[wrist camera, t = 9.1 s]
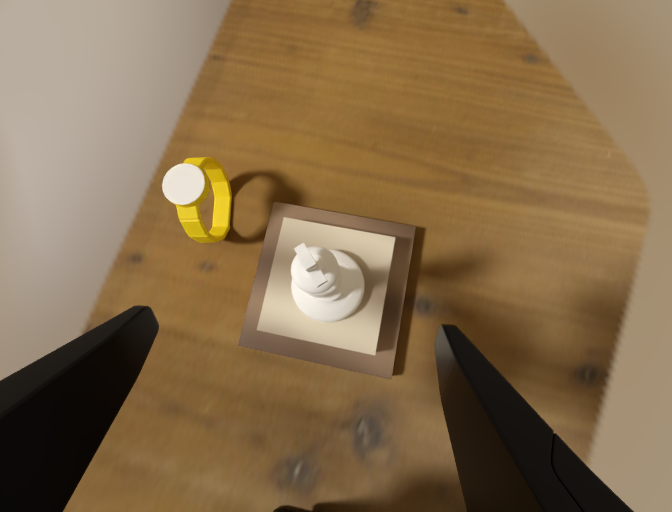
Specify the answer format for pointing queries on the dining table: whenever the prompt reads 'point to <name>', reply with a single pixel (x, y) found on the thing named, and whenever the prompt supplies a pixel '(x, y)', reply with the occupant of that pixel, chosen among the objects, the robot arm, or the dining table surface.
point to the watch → (200, 196)
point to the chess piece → (326, 283)
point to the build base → (323, 350)
